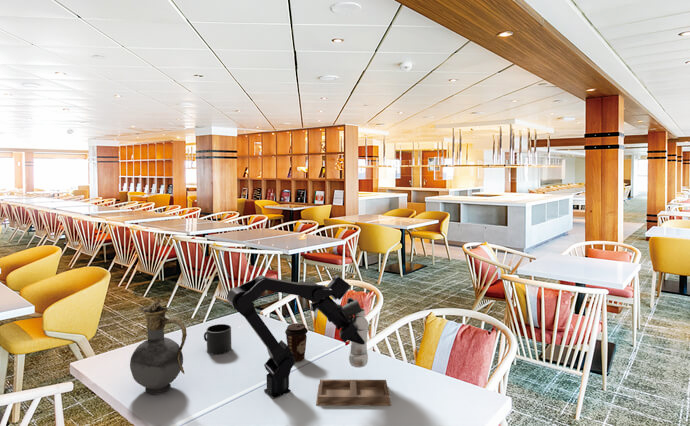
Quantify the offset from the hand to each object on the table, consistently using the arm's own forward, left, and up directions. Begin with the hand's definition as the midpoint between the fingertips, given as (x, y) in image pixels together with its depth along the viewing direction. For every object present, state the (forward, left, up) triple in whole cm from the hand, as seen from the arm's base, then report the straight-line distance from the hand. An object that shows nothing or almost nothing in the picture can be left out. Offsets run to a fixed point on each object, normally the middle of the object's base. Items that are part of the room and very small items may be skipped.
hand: (362, 340), depth 148 cm
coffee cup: (-9, +27, -13) cm, 31 cm away
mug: (-28, +56, -13) cm, 64 cm away
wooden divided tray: (-11, -7, -13) cm, 19 cm away
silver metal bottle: (-1, +1, -9) cm, 10 cm away
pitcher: (-56, +37, -13) cm, 68 cm away
